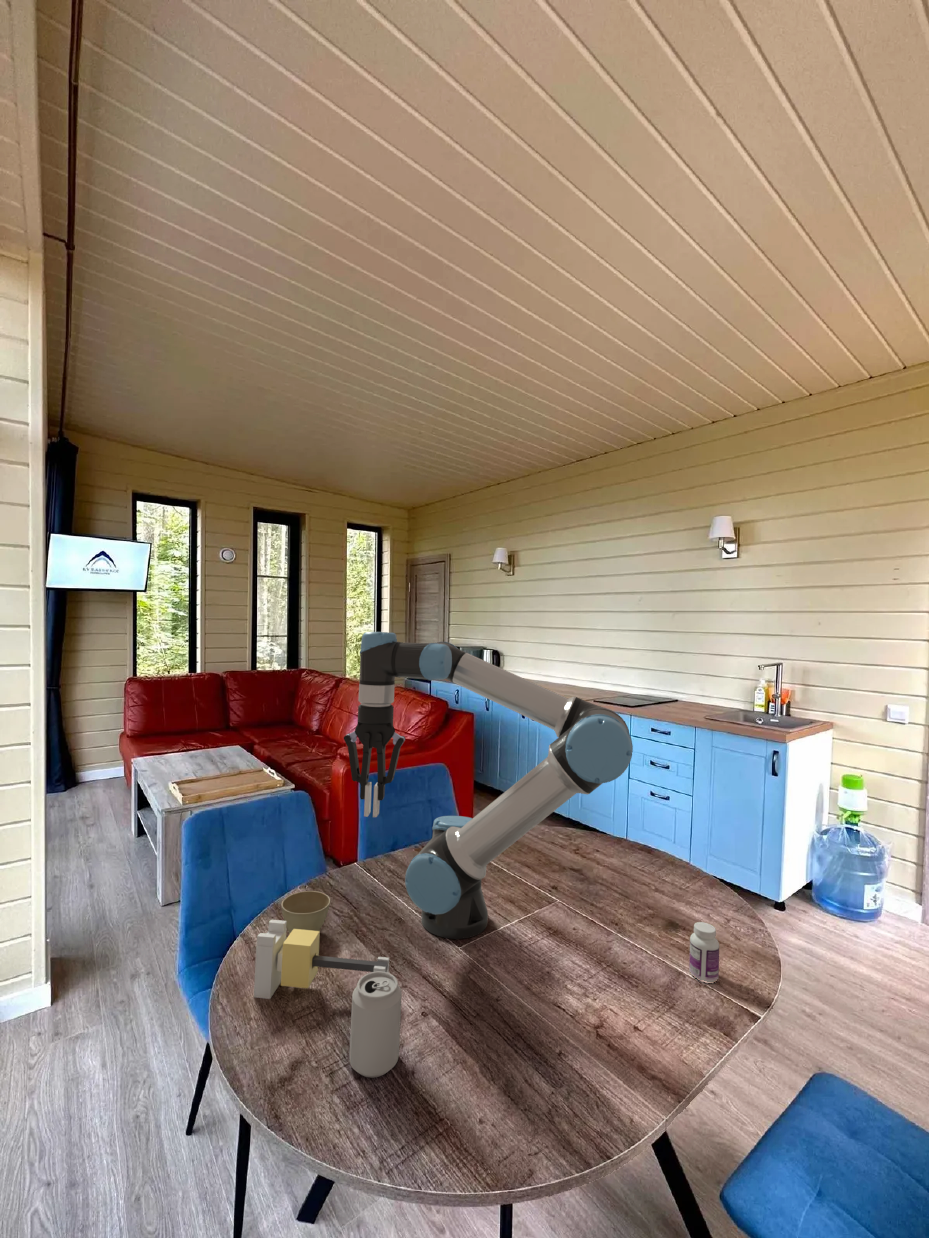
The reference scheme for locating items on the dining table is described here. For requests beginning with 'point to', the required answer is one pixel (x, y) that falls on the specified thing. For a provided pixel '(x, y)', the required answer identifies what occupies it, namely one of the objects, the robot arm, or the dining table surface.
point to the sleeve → (299, 958)
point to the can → (375, 1024)
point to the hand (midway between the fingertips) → (371, 814)
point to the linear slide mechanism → (271, 961)
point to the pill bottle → (704, 952)
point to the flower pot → (305, 910)
